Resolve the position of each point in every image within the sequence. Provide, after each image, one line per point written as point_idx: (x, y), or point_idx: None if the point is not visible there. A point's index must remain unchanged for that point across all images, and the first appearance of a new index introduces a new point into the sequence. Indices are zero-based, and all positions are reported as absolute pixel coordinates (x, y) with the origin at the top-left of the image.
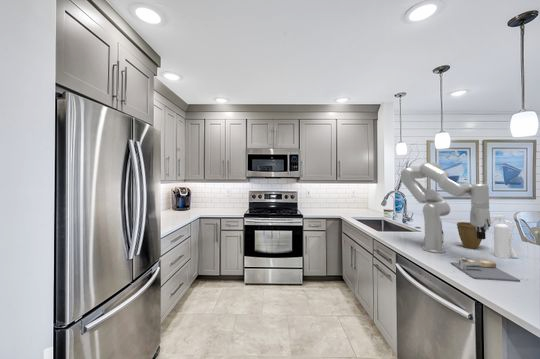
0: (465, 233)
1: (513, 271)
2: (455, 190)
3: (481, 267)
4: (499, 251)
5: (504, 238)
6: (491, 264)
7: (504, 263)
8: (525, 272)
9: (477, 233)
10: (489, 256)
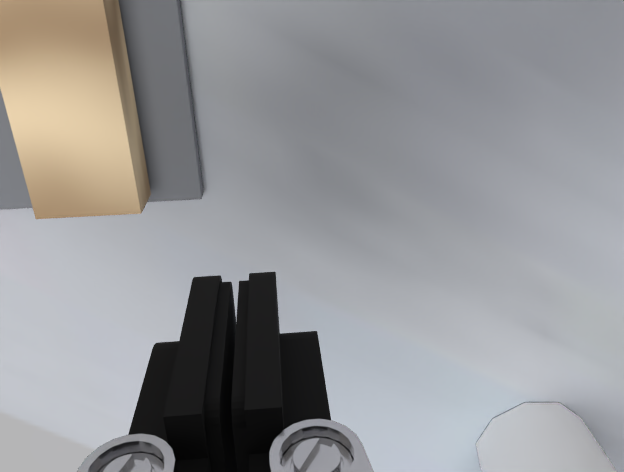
0: None
1: (76, 319)
2: None
3: None
4: (527, 465)
5: None
6: (27, 160)
7: None
8: (87, 395)
9: (247, 361)
10: (537, 351)
